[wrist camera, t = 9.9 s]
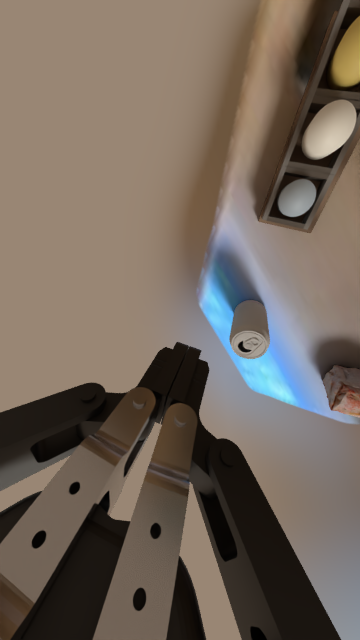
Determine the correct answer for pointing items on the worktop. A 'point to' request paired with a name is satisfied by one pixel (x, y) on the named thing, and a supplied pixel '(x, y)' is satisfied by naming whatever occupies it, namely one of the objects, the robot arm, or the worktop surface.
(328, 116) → the button cream
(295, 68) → the worktop surface
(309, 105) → the wooden compartment tray
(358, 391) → the food item
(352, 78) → the button mustard
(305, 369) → the worktop surface
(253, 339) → the beverage can
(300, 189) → the button slate
